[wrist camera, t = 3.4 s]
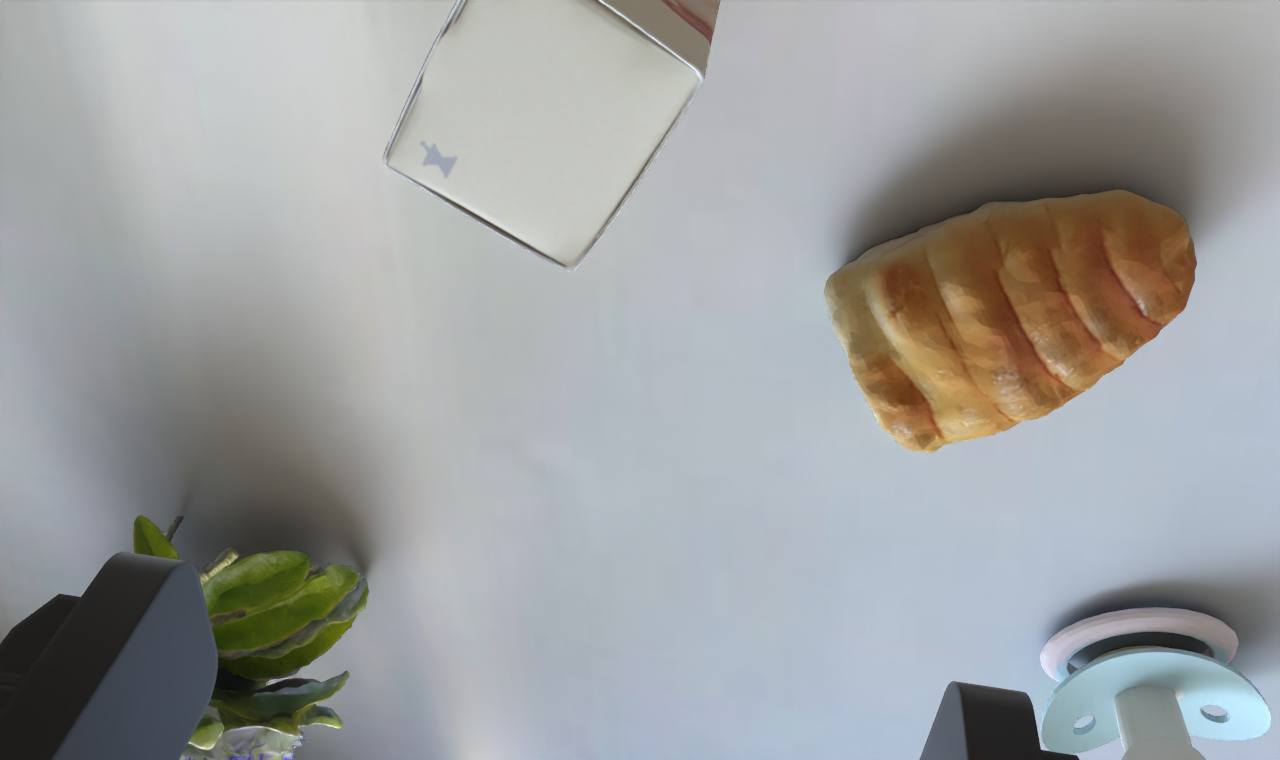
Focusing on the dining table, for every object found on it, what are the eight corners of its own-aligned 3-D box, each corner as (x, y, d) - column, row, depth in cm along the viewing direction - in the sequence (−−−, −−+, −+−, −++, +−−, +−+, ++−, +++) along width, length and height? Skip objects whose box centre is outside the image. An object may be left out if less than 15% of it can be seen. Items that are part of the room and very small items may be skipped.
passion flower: (308, 557, 51) (105, 780, 46) (152, 404, 44) (-106, 650, 39) (460, 660, 44) (237, 936, 39) (303, 496, 37) (7, 812, 32)
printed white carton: (639, 89, 30) (566, 289, 22) (495, -5, 29) (364, 169, 21) (752, -82, 27) (716, 78, 19) (596, -192, 26) (488, -74, 18)
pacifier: (1017, 608, 39) (1039, 719, 42) (1042, 757, 34) (1066, 871, 37) (1246, 582, 37) (1252, 701, 40) (1309, 738, 32) (1310, 861, 35)
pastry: (1131, 107, 28) (1167, 176, 25) (1221, 303, 31) (1263, 386, 28) (804, 267, 32) (801, 343, 29) (911, 427, 35) (918, 511, 32)
